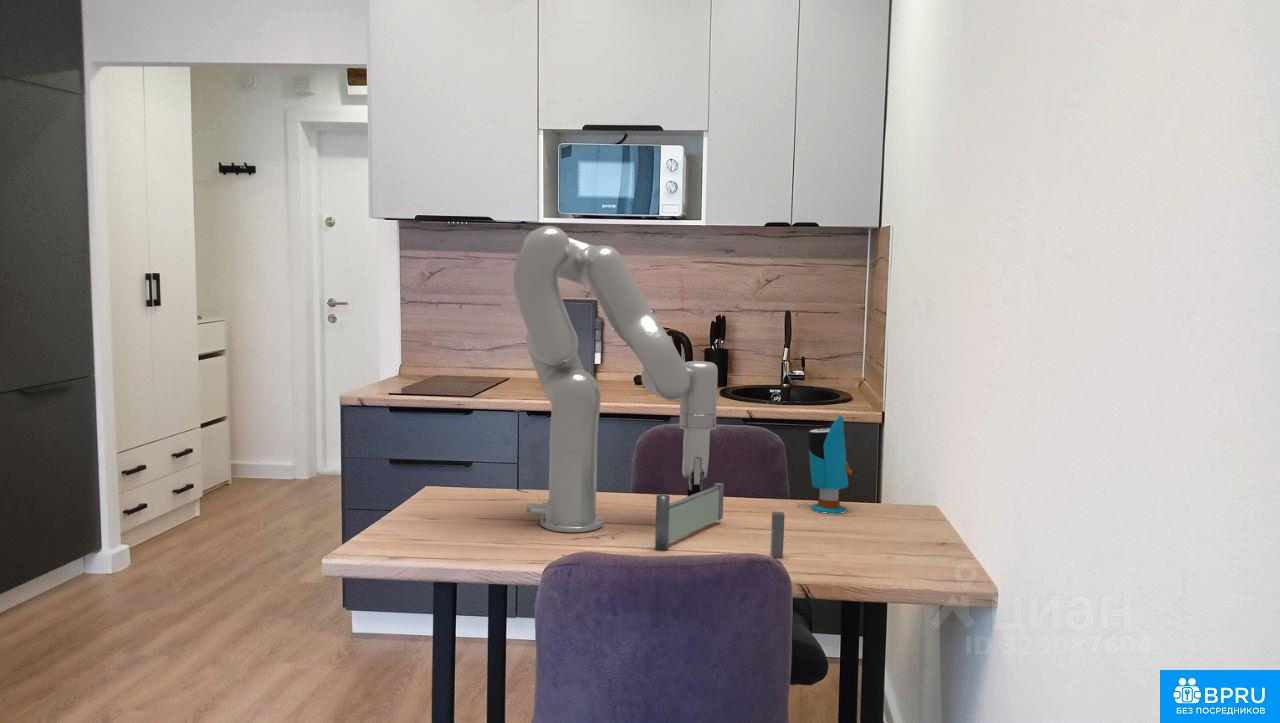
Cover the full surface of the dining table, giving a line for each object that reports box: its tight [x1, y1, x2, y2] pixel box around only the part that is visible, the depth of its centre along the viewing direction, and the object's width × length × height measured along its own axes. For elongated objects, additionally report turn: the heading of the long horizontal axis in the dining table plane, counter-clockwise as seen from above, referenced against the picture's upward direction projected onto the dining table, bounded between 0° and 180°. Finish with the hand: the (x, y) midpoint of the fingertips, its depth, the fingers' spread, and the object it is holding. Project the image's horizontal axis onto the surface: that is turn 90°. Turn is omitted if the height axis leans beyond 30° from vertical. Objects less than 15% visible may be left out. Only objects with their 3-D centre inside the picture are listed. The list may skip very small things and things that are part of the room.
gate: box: [668, 482, 725, 544], centre depth 182 cm, size 23×2×7 cm, turn 149°
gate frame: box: [654, 494, 785, 559], centre depth 170 cm, size 23×2×10 cm, turn 83°
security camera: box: [807, 415, 853, 513], centre depth 205 cm, size 8×21×10 cm
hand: (694, 508), depth 193 cm, fingers closed
